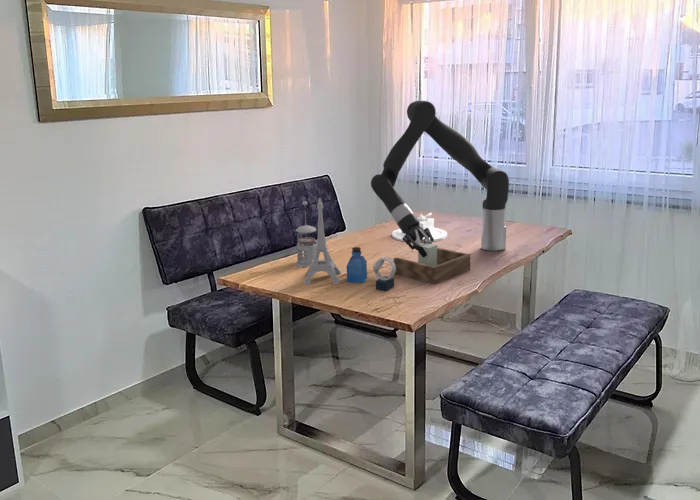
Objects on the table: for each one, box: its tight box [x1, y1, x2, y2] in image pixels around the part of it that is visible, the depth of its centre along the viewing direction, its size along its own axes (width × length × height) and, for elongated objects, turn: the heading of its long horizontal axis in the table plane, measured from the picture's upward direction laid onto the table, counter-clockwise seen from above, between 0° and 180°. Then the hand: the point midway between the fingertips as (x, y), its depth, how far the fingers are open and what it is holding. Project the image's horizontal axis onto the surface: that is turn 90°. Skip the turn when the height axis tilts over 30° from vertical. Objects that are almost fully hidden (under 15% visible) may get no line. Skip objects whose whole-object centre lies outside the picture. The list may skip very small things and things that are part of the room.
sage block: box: [417, 243, 438, 266], centre depth 253 cm, size 5×5×8 cm
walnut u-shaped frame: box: [393, 246, 471, 285], centre depth 252 cm, size 19×22×6 cm
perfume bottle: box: [346, 246, 368, 284], centre depth 244 cm, size 6×6×12 cm
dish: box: [391, 212, 448, 243], centre depth 303 cm, size 25×25×11 cm
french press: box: [294, 200, 317, 268], centre depth 265 cm, size 10×12×25 cm
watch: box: [372, 256, 396, 292], centre depth 235 cm, size 6×8×11 cm
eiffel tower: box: [302, 198, 342, 285], centre depth 245 cm, size 13×13×30 cm
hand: (429, 254), depth 252 cm, fingers closed on sage block, 5 cm apart
